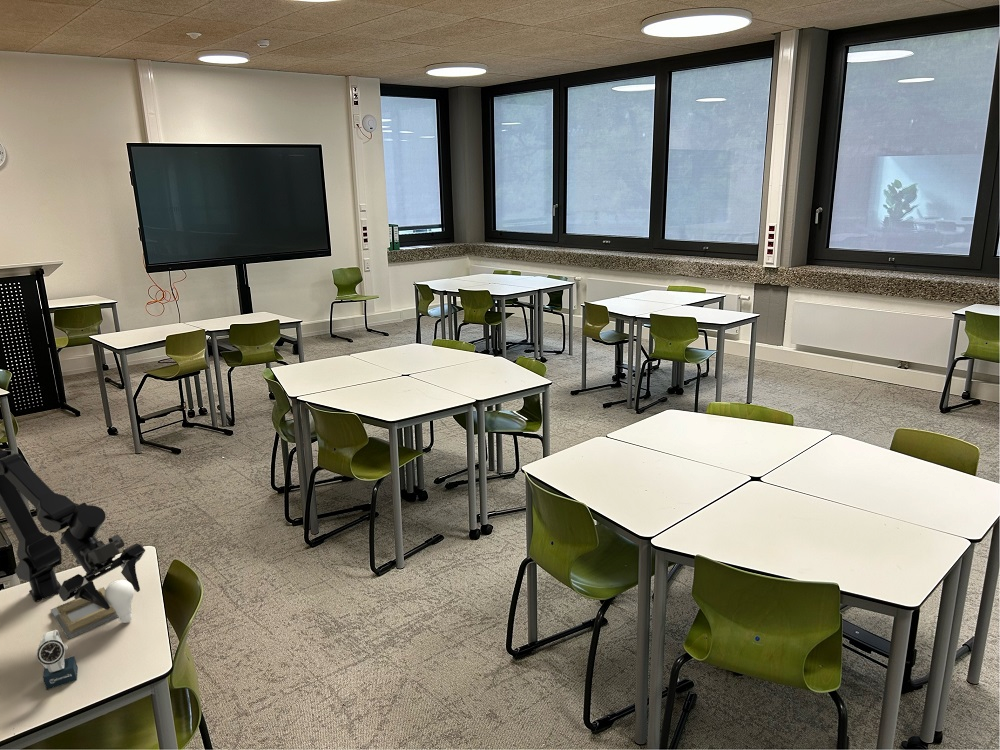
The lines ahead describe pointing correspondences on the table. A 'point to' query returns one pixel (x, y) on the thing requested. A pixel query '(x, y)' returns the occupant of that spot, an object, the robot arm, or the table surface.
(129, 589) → the lightbulb
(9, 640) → the table surface
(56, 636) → the watch
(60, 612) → the socket plate
